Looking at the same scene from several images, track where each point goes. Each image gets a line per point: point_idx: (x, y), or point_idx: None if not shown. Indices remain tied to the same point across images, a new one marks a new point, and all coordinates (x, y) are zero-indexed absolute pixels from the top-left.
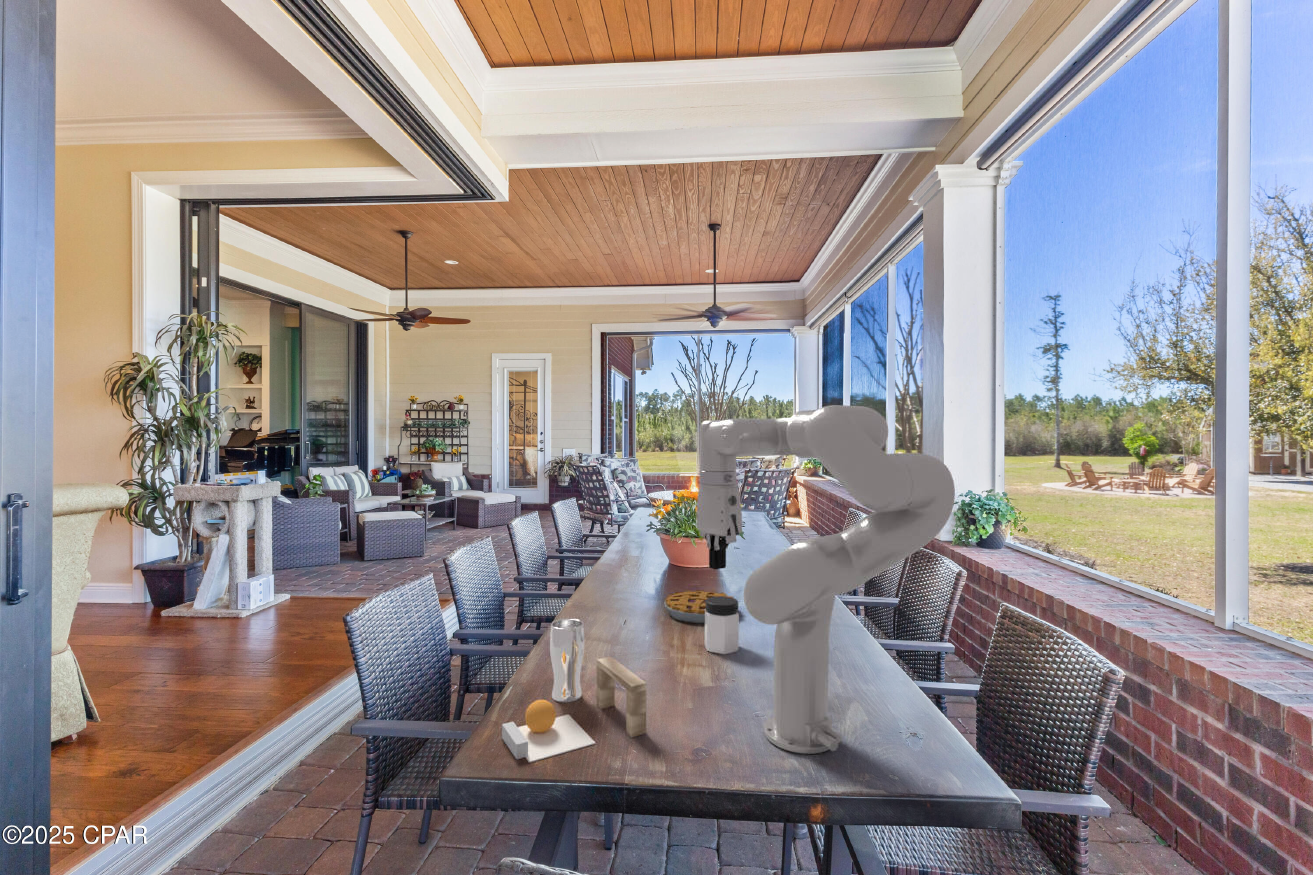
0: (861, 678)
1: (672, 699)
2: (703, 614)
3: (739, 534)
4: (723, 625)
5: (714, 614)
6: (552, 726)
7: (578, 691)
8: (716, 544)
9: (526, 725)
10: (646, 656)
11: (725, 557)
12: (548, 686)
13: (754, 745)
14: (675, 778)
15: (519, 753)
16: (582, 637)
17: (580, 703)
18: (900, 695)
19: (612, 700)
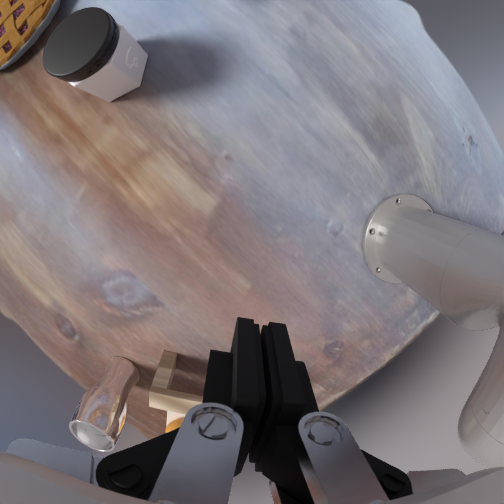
0: (364, 18)
1: (211, 288)
2: (33, 35)
3: (498, 468)
4: (117, 71)
5: (88, 77)
6: (183, 415)
7: (133, 373)
8: (298, 501)
9: (167, 424)
10: (64, 206)
11: (293, 361)
12: (90, 367)
13: (371, 296)
14: (339, 388)
15: None
16: (112, 420)
17: (148, 373)
18: (422, 45)
19: (175, 360)
